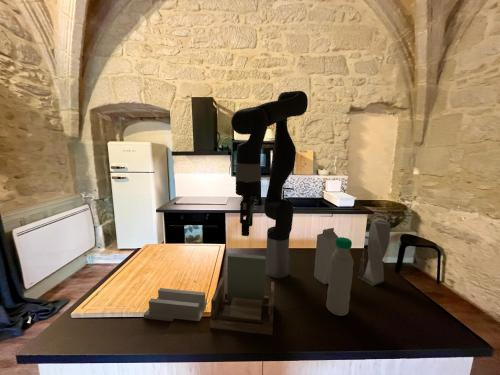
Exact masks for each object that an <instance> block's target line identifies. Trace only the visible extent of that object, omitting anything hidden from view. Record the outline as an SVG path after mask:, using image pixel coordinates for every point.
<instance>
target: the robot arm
mask: <svg viewBox="0 0 500 375" xmlns="http://www.w3.org/2000/svg"><path fill="white" fill-rule="evenodd" d="M308 101H309V100H308V96H307V94H306V92H305V91H302V90H293V91H283V92H281V93H279V95H278V97H277V99H276V100H273V101H269V102H265V103H262V104H259V105H257V106H253V107H252V106H251V107H246V108H242V109H241V108H240V109H238V110H236V111H235V112H234V114H233V115H232V117H231V120H230V122H231V123H230V124H231V128H232V129H233V131H234V132H235V133H236V134H239V135H241V136H243V135H249V137H248V139H247V140H246V141H244V142H242V143H240V144H238V145H237V148H236V167H235V168H236V169H235V194H236V195H237V196H242V200H240V202H239V203H240V204H239V207H240V208H239V209H240V210H239V212H240V213H239V224H240V225H241V236H242V237H249V236H250V227H252V226H253V223H254V221H253V220H254V218H253V216H254V214H255V212H254V211H255V204H256V200H255V197H258V196H259V195H261V193H262V192H261V189H262V188H261V186H262V166H261V164H262V163H261V160H262V148H263V144H264V140H265V137H266V134H267V131H268V127H270V126H273V125H274V124H275V133H274V142H273V150H272V156H271V164H270V165H271V167H270V168H271V169H270V173H269V182H268V186H267V191H266V196H265V201H264V206H263V208H264V209H263V210H264V215H265V216H266V217H267V218H268V219H271V220H273V221H275V223H274V226H271V227H269V228H268V229H267V232H266V255H265V256H266V266H265V276H269V277H270V278H273V279H282V278H283V279H284V278H287V277H288V276H289V275H290V266H291V265H290V264H291V262H290V261H291V253H290V250H289V248H290V235H291V232H292V228H293V219H294V205H293V203H292V202H291V201H290V200H287V199H285V198H282V193H283V187H284V185H285V183H286V181H288V180H287V179H288V178H289V177H290V175H291V174H292V173H293V171H294V168H295V166H296V157H297V156H296V155H297V149H296V146H295V143H294V141H293V139H292V137H291V134H290V133H289V129H288V118H291V117H300V116H303V115H304V114H305V113H306V112H307V110H308V106H309V102H308ZM244 217H245V218H244Z"/></svg>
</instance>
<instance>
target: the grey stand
mask: <svg viewBox="0 0 500 375" xmlns="http://www.w3.org/2000/svg"><path fill="white" fill-rule="evenodd" d="M207 299H208V298H206V292H204V291H203V292H202V291H195V290H194V291H193V290H183V289H173V288H163V287H160V288H159V289H158V290H157V297H156V298H150V299H149V301H148V309H147V310H146V311H145V312H144V314H143V319H148V320H157V321H158V320H159V321H167V322H173V321H174V320H175V319H176V320H185V321H195V322H200V321H201V318H202V317H203V313H204V312H205V309H206V307H207V306H206V305H208V303H207Z"/></svg>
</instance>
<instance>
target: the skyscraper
mask: <svg viewBox="0 0 500 375" xmlns="http://www.w3.org/2000/svg"><path fill="white" fill-rule="evenodd" d="M380 216H386V218H385V219H384V218H380ZM377 217H379V218H377ZM389 218H390V215H389V214H385V213H383V214H382V213H381V214H376V215H374V216H373V217H372V219H371V223H370V227H369V232H368V238H367V254H368V261H367V264H366V268H364V265H365V261H366V260H365V258H364V257H365V249H362V253H361V258H360V264H359V269H358V270H359V271H358V276H356V277H357V278H358V279H360V280H361V281H363V282H365V283H366V284H368V285H369V286H371V287H374V286H377V285H379V284H382V283H384V281H385V278H384V277H385V276H384V258H385V256H386V253H387V250H388V248H389V245H390V239H391V238H390V237H391V222H388V219H389Z"/></svg>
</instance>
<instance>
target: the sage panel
mask: <svg viewBox="0 0 500 375" xmlns="http://www.w3.org/2000/svg"><path fill="white" fill-rule="evenodd" d="M226 271H227V280H226V281H227V286H226V288H227V290H226V292H227V300H233V297H234V298H244V299H254V300H262V304H264V296H266V295H265V291H266V290H265V288H266V286H265V285H266V255H256V254H255V255H254V254H244V253H243V254H241V253H230V252H229V253H228V255H227V270H226Z"/></svg>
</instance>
